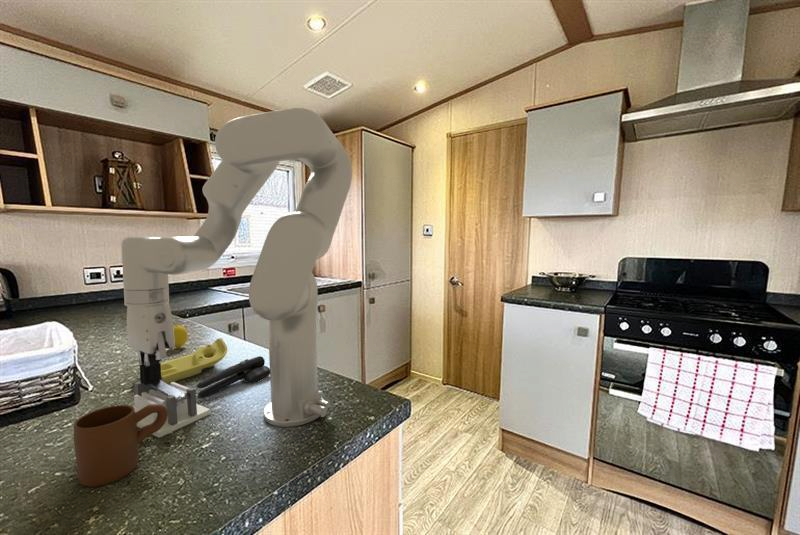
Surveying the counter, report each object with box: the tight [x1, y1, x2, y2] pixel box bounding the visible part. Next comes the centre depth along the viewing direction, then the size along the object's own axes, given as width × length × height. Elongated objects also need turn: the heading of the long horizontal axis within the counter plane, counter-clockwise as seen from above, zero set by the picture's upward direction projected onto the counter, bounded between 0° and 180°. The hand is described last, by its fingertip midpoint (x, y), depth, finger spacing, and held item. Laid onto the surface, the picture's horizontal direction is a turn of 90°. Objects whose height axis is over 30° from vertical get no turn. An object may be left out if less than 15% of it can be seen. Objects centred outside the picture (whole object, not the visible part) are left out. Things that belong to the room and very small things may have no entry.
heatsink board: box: [132, 376, 211, 439], centre depth 73 cm, size 15×10×6 cm, turn 60°
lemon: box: [173, 324, 189, 349], centre depth 116 cm, size 6×6×8 cm
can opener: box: [196, 356, 270, 398], centre depth 88 cm, size 18×7×6 cm, turn 142°
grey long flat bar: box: [148, 380, 190, 403], centre depth 72 cm, size 14×3×1 cm, turn 60°
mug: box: [73, 404, 168, 488], centre depth 57 cm, size 12×8×9 cm, turn 133°
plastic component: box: [139, 337, 228, 385], centre depth 96 cm, size 20×7×10 cm
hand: (151, 381), depth 74 cm, fingers closed
